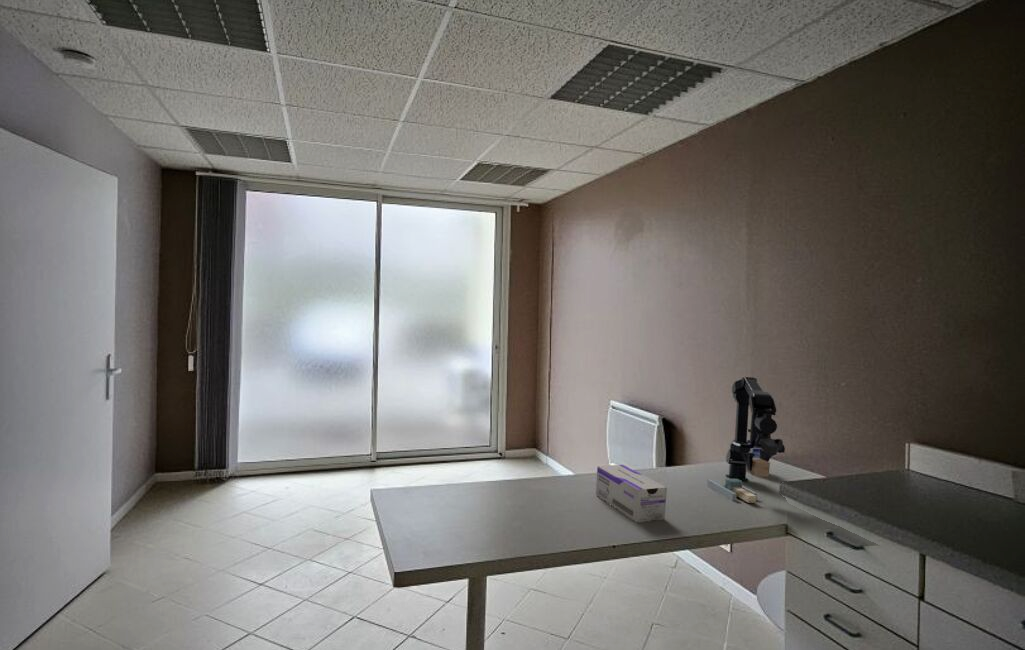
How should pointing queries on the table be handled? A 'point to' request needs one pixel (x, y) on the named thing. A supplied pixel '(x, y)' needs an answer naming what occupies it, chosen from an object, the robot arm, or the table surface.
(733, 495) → the channel
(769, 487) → the table surface
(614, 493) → the surgical sutures box
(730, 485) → the push rod
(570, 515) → the table surface
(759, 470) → the block
